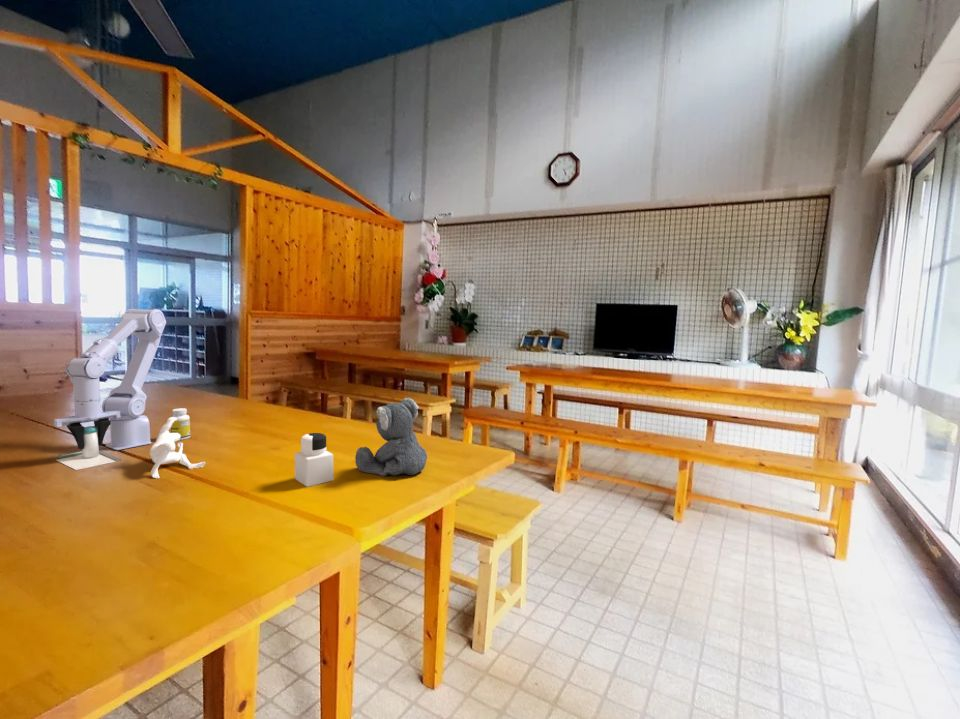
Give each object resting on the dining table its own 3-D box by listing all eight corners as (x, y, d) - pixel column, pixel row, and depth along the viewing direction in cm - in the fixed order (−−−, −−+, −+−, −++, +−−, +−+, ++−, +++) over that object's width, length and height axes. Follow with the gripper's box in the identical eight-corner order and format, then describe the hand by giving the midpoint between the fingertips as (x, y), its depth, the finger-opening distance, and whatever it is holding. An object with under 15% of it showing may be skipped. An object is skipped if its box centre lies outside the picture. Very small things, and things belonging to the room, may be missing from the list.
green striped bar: (92, 451, 138) (92, 448, 138) (95, 452, 137) (94, 449, 137) (57, 457, 131) (57, 455, 131) (60, 459, 130) (59, 456, 130)
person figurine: (201, 431, 123) (174, 410, 133) (146, 451, 114) (121, 426, 124) (210, 472, 128) (183, 448, 138) (158, 494, 118) (133, 467, 129)
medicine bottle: (321, 473, 124) (320, 429, 123) (333, 480, 119) (333, 435, 118) (294, 479, 119) (294, 434, 118) (306, 487, 114) (306, 439, 113)
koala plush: (393, 455, 141) (393, 392, 139) (440, 466, 132) (442, 399, 130) (350, 471, 126) (350, 400, 124) (400, 485, 117) (401, 409, 115)
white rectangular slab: (99, 451, 137) (99, 450, 137) (120, 460, 130) (120, 459, 130) (56, 460, 129) (56, 458, 129) (75, 470, 122) (75, 468, 122)
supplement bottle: (167, 438, 152) (166, 409, 151) (184, 435, 157) (183, 407, 156) (177, 441, 150) (175, 411, 149) (193, 437, 155) (192, 408, 154)
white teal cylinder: (96, 452, 135) (95, 425, 134) (101, 455, 133) (100, 427, 132) (80, 456, 132) (78, 427, 131) (85, 458, 129) (83, 430, 129)
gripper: (59, 405, 122) (62, 455, 124) (124, 397, 135) (126, 443, 136) (49, 402, 126) (53, 450, 127) (113, 395, 138) (115, 439, 140)
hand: (90, 446), depth 132 cm, fingers closed on white teal cylinder, 4 cm apart
